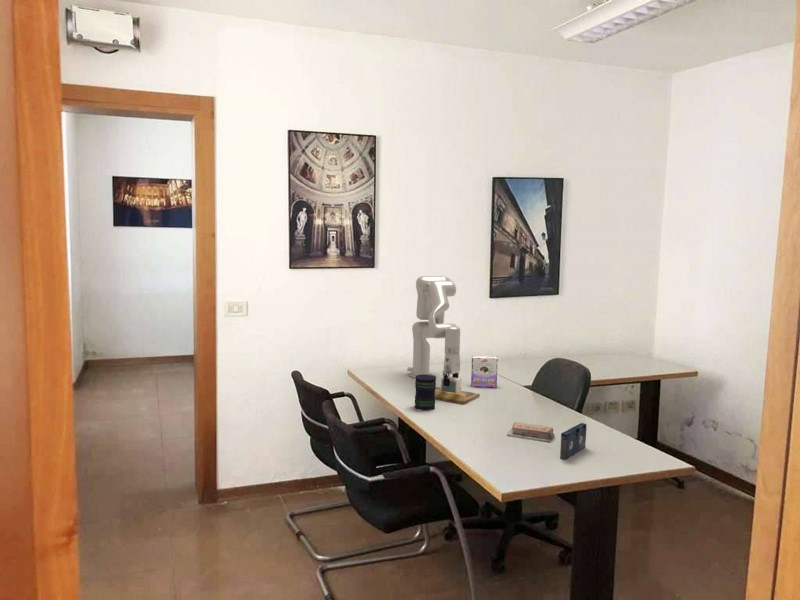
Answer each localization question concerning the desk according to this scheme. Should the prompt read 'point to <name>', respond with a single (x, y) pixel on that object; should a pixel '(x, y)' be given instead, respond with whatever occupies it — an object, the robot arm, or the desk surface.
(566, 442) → the vhs cassette tape
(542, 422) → the desk surface
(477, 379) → the candy box
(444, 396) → the shelf board
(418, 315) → the robot arm
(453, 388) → the cream carton
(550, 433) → the packaged product
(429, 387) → the storage jar
